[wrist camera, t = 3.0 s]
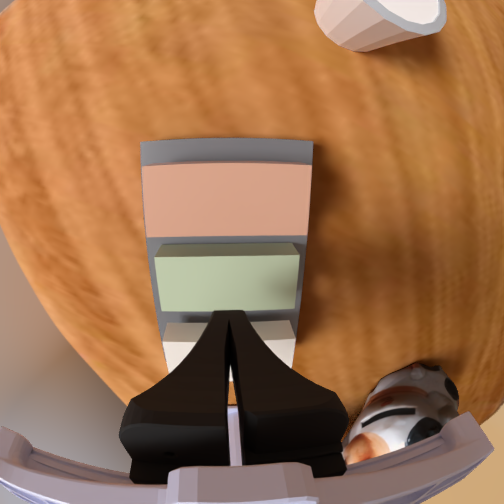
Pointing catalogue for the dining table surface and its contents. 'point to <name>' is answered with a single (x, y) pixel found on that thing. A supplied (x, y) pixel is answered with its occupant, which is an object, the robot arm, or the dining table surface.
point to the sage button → (227, 276)
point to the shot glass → (378, 21)
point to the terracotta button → (226, 198)
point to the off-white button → (187, 334)
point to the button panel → (226, 152)
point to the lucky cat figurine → (402, 412)
